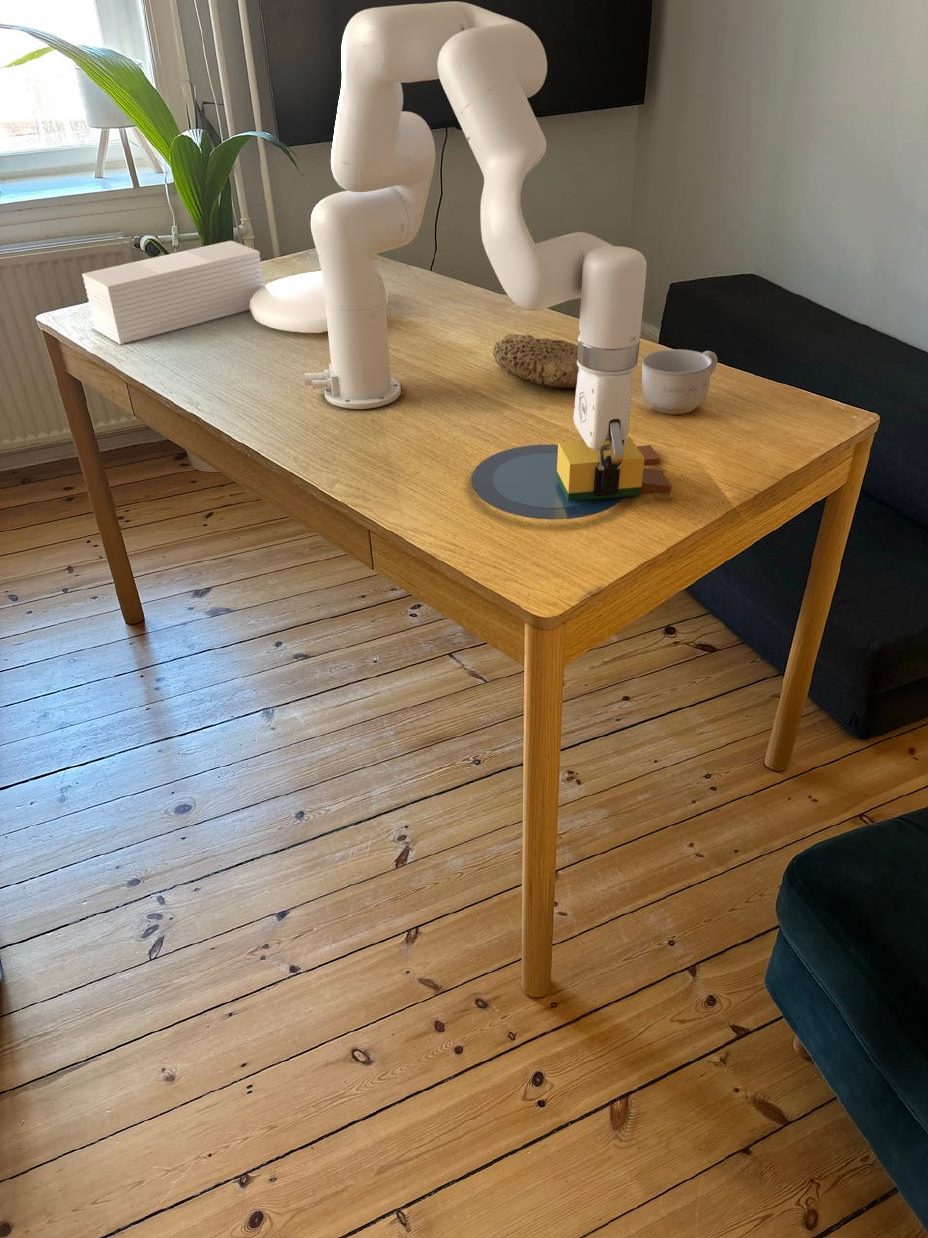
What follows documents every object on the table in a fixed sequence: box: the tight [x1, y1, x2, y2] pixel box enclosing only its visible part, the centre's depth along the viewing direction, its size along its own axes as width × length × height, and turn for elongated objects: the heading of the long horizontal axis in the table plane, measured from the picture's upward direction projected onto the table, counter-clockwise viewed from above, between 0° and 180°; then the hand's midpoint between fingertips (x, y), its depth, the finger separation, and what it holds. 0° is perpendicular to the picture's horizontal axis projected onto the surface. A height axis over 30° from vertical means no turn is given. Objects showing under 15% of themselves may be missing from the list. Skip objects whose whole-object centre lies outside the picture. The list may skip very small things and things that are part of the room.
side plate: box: [470, 444, 626, 521], centre depth 136 cm, size 22×22×1 cm
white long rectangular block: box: [81, 240, 265, 345], centre depth 192 cm, size 32×11×11 cm, turn 132°
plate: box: [249, 270, 390, 334], centre depth 194 cm, size 28×6×27 cm
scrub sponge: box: [557, 436, 645, 501], centre depth 132 cm, size 10×6×6 cm, turn 99°
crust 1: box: [636, 444, 661, 466], centre depth 141 cm, size 4×4×2 cm
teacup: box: [641, 348, 718, 415], centre depth 156 cm, size 14×11×8 cm
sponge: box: [492, 333, 579, 389], centre depth 165 cm, size 13×8×20 cm
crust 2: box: [641, 467, 672, 495], centre depth 134 cm, size 4×4×2 cm
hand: (598, 480), depth 133 cm, fingers closed on scrub sponge, 6 cm apart
